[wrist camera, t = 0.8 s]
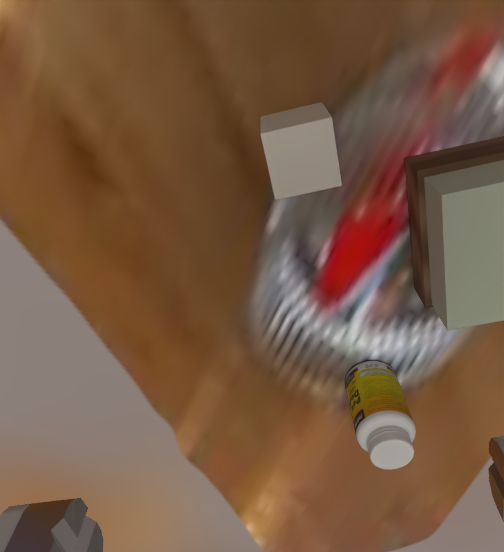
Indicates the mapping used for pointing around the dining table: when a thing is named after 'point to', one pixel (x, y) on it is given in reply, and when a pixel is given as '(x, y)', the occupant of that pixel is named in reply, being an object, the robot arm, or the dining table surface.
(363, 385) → the supplement bottle
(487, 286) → the tower top
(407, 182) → the tower base
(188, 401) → the dining table surface
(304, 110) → the cream block
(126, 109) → the dining table surface
